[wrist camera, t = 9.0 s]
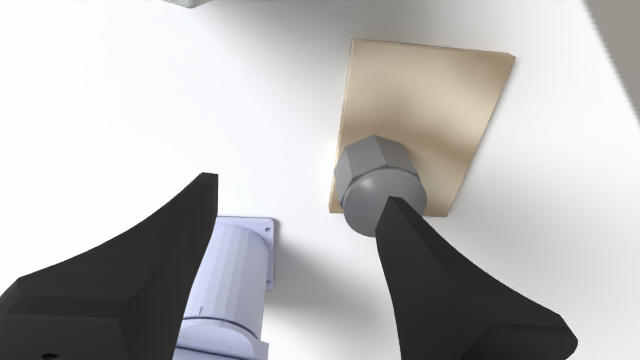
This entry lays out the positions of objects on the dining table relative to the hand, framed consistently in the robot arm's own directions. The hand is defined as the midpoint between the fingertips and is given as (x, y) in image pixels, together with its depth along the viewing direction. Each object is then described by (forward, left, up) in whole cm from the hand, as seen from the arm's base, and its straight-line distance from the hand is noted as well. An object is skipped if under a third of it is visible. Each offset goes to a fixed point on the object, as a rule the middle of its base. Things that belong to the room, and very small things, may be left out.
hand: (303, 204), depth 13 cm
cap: (-4, -5, -9) cm, 11 cm away
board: (-2, -8, -10) cm, 13 cm away
